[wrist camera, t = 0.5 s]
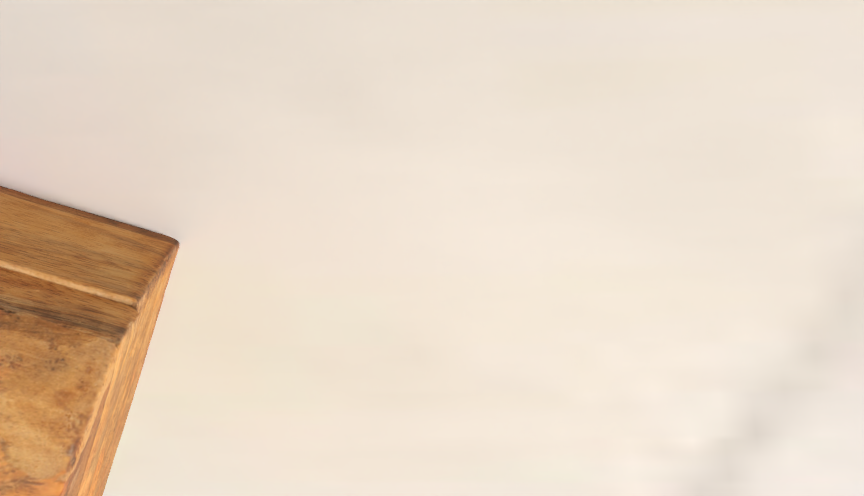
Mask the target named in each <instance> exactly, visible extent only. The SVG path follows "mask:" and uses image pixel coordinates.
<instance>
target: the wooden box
mask: <svg viewBox="0 0 864 496" xmlns="http://www.w3.org/2000/svg"><path fill="white" fill-rule="evenodd" d="M178 249H179V242H178V241H177V240H175V239H173V238H170V237H168V236H165V235H162V234H159V233H155V232H152V231H149V230H145V229H142V228H139V227H135V226H132V225H128V224H125V223H122V222H118V221H114V220H111V219H108V218H104V217H101V216H98V215H94V214H90V213H88V212H84V211H81V210H77V209H74V208H70V207H67V206H63V205H60V204H56V203H53V202H49V201H46V200H43V199H40V198H36V197H33V196H30V195H27V194H24V193H21V192H18V191H15V190H12V189H8V188H5V187H2V186H0V496H102V495H103V492H104V489H105V485H106V482H107V479H108V476H109V472H110V469H111V466H112V463H113V459H114V456H115V453H116V450H117V447H118V444H119V441H120V438H121V435H122V432H123V429H124V425H125V422H126V419H127V416H128V412H129V409H130V406H131V403H132V400H133V397H134V393H135V390H136V387H137V383H138V380H139V377H140V374H141V370H142V367H143V364H144V360H145V357H146V354H147V350H148V346H149V343H150V340H151V337H152V334H153V330H154V327H155V324H156V321H157V317H158V314H159V311H160V307H161V304H162V301H163V297H164V293H165V289H166V287H167V284H168V280H169V277H170V273H171V270H172V267H173V264H174V261H175V258H176V255H177V252H178Z"/></svg>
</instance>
